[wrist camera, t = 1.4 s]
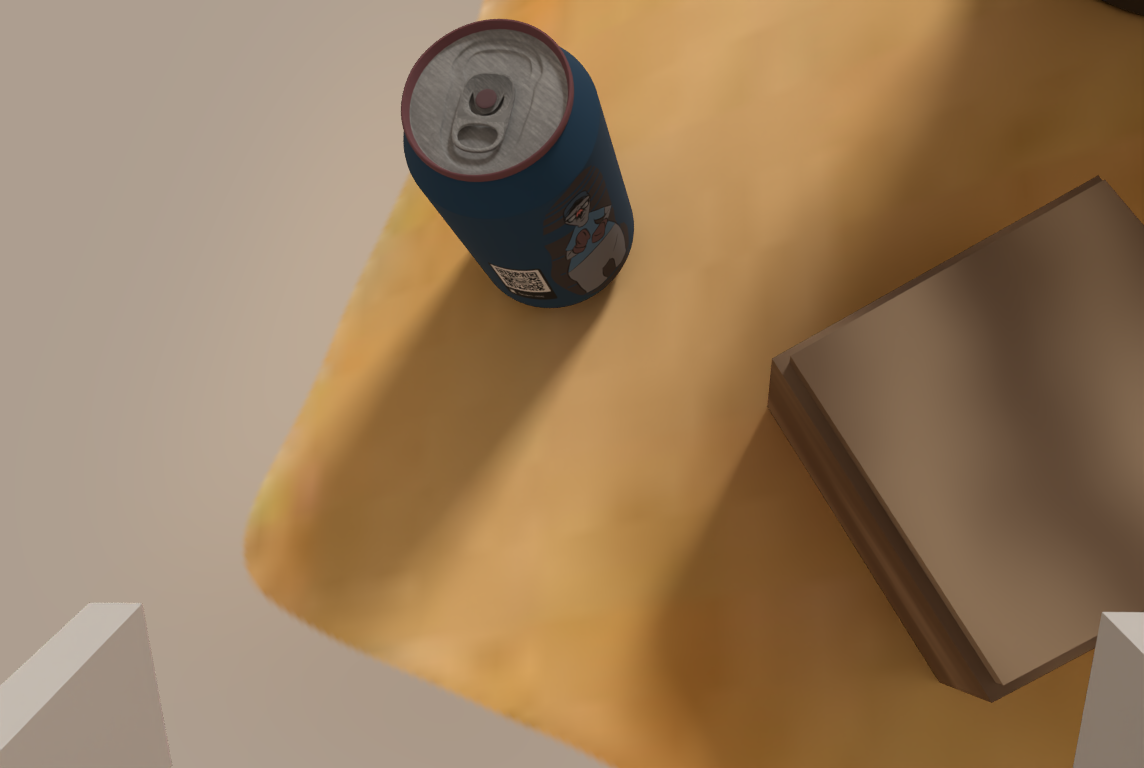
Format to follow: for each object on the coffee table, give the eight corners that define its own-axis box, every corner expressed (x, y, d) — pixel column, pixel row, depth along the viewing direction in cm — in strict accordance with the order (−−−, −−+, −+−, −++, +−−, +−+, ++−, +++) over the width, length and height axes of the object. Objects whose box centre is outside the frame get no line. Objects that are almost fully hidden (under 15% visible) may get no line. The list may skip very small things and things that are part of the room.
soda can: (506, 167, 41) (411, -5, 29) (651, 182, 39) (611, 7, 28) (471, 306, 39) (358, 182, 28) (620, 328, 38) (565, 207, 26)
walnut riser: (1029, 260, 35) (1107, 163, 27) (1235, 523, 31) (1392, 496, 24) (767, 406, 35) (772, 351, 28) (939, 682, 32) (999, 705, 24)
